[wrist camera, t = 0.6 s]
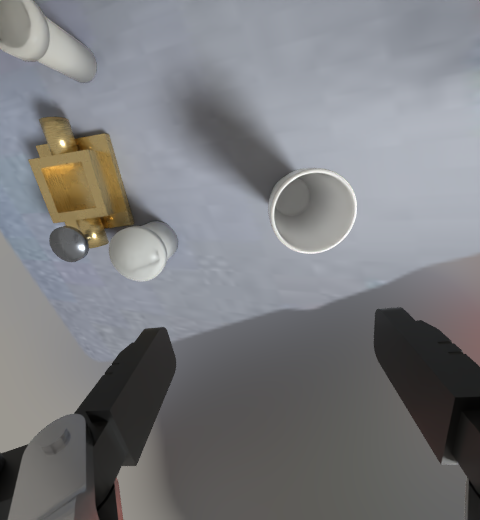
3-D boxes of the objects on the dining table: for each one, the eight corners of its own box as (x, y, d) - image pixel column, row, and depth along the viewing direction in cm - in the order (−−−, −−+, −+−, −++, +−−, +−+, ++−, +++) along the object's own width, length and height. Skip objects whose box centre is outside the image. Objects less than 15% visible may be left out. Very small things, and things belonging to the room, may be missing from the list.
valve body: (35, 130, 32) (-28, 118, 25) (104, 117, 31) (58, 101, 24) (79, 248, 38) (38, 265, 31) (139, 241, 37) (110, 257, 30)
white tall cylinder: (268, 223, 34) (274, 259, 20) (262, 174, 32) (264, 175, 18) (317, 217, 33) (358, 249, 19) (314, 165, 31) (359, 159, 17)
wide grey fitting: (130, 220, 36) (101, 231, 29) (175, 214, 35) (155, 224, 28) (143, 264, 38) (118, 283, 31) (185, 260, 37) (169, 278, 31)
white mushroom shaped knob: (54, 42, 29) (-31, -11, 20) (92, 33, 28) (21, -26, 20) (69, 91, 31) (-3, 60, 22) (106, 83, 30) (45, 48, 21)
